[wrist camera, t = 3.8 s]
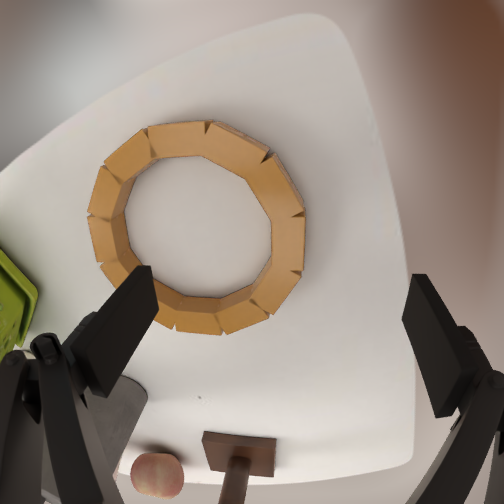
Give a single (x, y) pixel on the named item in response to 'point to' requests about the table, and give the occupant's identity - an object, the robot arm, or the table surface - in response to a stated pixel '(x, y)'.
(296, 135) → the table surface
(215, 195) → the table surface
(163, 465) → the apple
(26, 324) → the flower pot
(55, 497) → the flask
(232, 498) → the peg stand
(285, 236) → the hoop
